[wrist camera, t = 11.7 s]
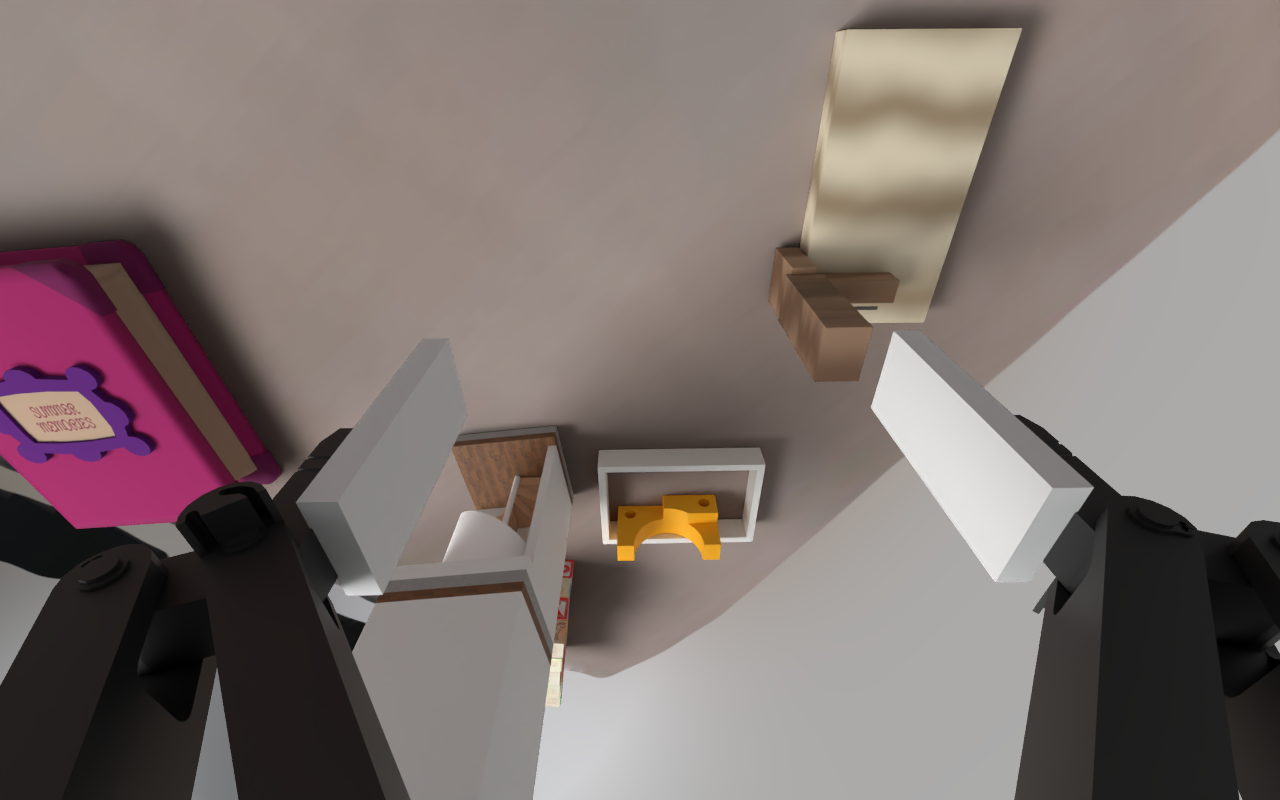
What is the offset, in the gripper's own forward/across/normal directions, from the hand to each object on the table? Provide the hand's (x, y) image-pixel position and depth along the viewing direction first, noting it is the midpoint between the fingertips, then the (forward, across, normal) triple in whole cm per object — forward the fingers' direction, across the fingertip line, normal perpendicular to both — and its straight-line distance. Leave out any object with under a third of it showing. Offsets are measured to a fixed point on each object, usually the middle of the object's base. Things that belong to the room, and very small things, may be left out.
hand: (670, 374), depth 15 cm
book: (+32, -54, -19) cm, 66 cm away
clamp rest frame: (+32, +4, -35) cm, 47 cm away
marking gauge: (+31, +16, -8) cm, 36 cm away
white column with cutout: (+32, -15, -31) cm, 47 cm away
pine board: (+32, +20, -1) cm, 37 cm away
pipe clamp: (+32, +2, -38) cm, 50 cm away
